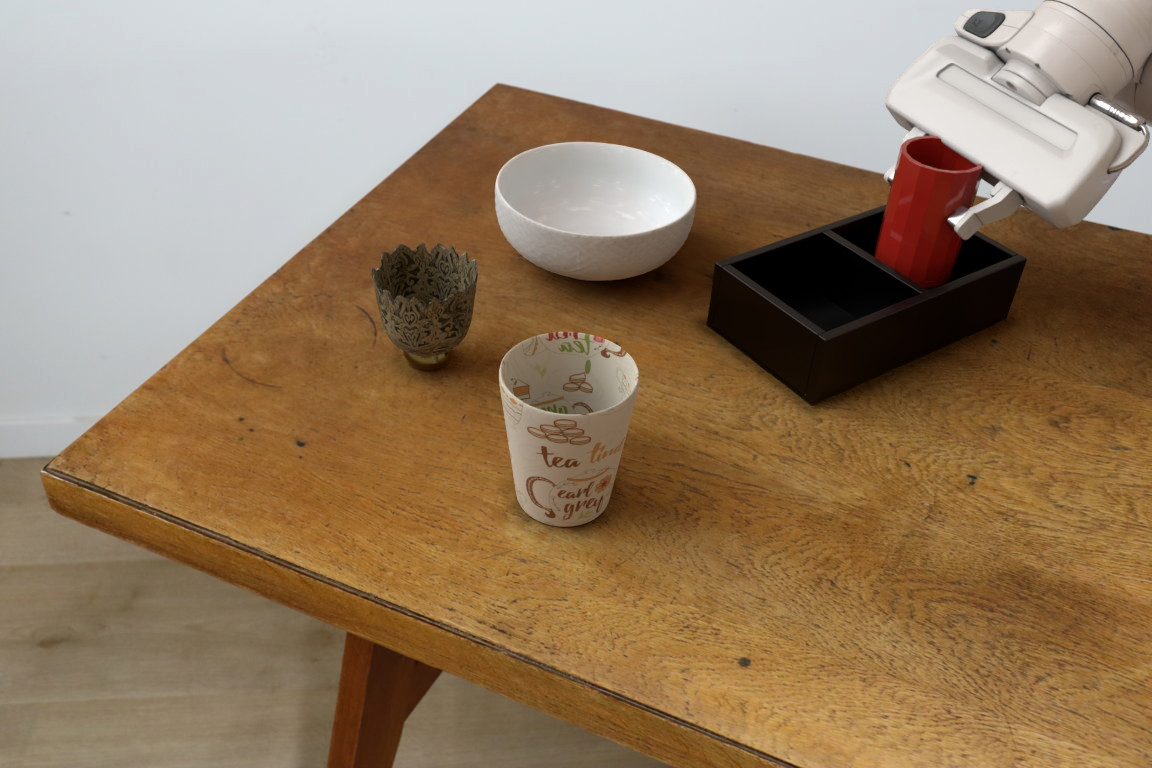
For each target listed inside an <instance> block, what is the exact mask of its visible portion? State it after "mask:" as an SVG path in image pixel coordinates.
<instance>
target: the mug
mask: <svg viewBox="0 0 1152 768" xmlns="http://www.w3.org/2000/svg"><path fill="white" fill-rule="evenodd" d="M498 380H499V381H498V382H499V383H498V384H499V392H500V398H501V405H502V410H503V417H504V424H505V431H506V437H507V443H508V449H509V456H510V462H511V468H512V476H513V483H514V489H515V493H516V498H517V502H518V503H519V506H520V507H521V508H522V510H523V511H524V512H525V513H526V514H527V515H528V516H529V517H531V518H532V519H534V520H535V521H537V522H540V523H542V524H544V525H547V526H554V527H561V528H562V527H563V528H564V527H567V528H568V527H569V528H570V527H576V526H581V525H584V524H587V523H589V522H591V521H593V520H595V519H596V518H598V517H599V516H600V515H602V513H604V511H605V510H606V508H607V507H608V505H609V502H610V498H611V496H612V492H613V488H614V484H615V480H616V477H617V473H618V470H619V469H618V468H619V465H620V461H621V457H622V454H623V449H624V447H625V442H626V439H627V435H628V431H629V427H630V424H631V421H632V415H633V412H634V408H635V404H636V401H637V397H638V393H639V388H640V372H639V367H638V365H637V363H636V361H635V360H634V358H633V357H632V356H631V355H630V354H629V353H628V352H627V351H626V350H625V349H624V348H622V347H621V346H620V345H618V344H616V343H615V342H612V341H610V340H608V339H607V338H603V337H601V336H597V335H594V334H590V333H584V332H577V331H553V332H548V333H542V334H538V335H534V336H532V337H528V338H527V339H525V340H522V341H520V342H519V343H517V344H516V345H514V346H513V347H511V348H510V349H509V350H508V351H507V352H506V353H505V355H504V356H503V358H502V360H501V363H500V366H499V369H498Z"/></svg>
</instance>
